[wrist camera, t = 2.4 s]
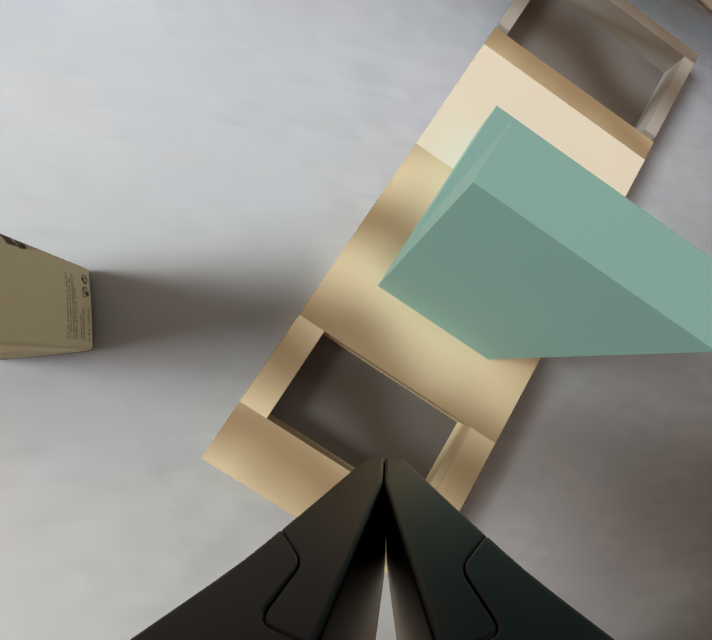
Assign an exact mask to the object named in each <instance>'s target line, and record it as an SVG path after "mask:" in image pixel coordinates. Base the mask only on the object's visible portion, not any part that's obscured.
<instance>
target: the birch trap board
mask: <svg viewBox="0 0 712 640" xmlns="http://www.w3.org/2000/svg"><path fill="white" fill-rule="evenodd" d="M485 45H486V46H488V47H489V48H490V49H492V50H493V51H495V52H496V53H497V54H499V55H500V56H502V57H503V58H504V59H506V60H507V61H509V62H510V63H511V64H513V65H514V66H515V67H517V68H518V69H520V70H521V71H522V72H524V73H525V74H527V75H528V76H529V77H531V78H532V79H534V80H535V81H536V82H538V83H539V84H540V85H542V86H543V87H545V88H546V89H547V90H549V91H550V92H552V93H553V94H554V95H556V96H557V97H559V98H560V99H561V100H563V101H564V102H565V103H567V104H568V105H570V106H571V107H572V108H574V109H575V110H577V111H578V112H579V113H581V114H582V115H583V116H585V117H586V118H588V119H589V120H590V121H592V122H593V123H595V124H596V125H597V126H599V127H600V128H602V129H603V130H604V131H606V132H607V133H608V134H610V135H611V136H613V137H614V138H615V139H617V140H618V141H620V142H621V143H622V144H624V145H625V146H627V147H628V148H629V149H631V150H632V151H633V152H635V153H636V154H638V155H639V156H640V157H642V158H643V159H645V158H646V156H647V154H648V152H649V150H650V148H651V146H652V145H653V143H654V142H653V141H652V139H653V138H655V137H656V135H657V133H658V131H659V129H660V128H661V126H662V124H663V122H664V120H665V118H666V116H667V114H668V113H669V111H670V109H671V107H672V105H673V103H674V101H675V99H676V97H677V96H678V94H679V92H680V90H681V88H682V86H683V84H684V82H685V80H686V79H687V77H688V75H689V73H690V71H691V69H692V67H693V65H694V64H695V62H696V60H697V58H698V56H699V55H698V54H697V53H696V52H694V51H693V50H692V49H690V48H689V47H688V46H686V45H685V44H684V43H682V42H681V41H680V40H678V39H677V38H675V37H674V36H673V35H671V34H670V33H669V32H667V31H666V30H665V29H663V28H662V27H661V26H659V25H658V24H657V23H655V22H654V21H653V20H651V19H650V18H649V17H647V16H646V15H645V14H643V13H642V12H641V11H639V10H638V9H637V8H635V7H634V6H633V5H631V4H630V3H628V2H627V1H626V0H514V1H513V3H512V4H511V6H510V7H509V9H508V10H507V12H506V13H505V14H504V16H503V17H502V19H501V20H500V22H499V23H498V25H497V27H495V29H494V30H493V32H492V33H491V35H490V36H489V38H488V39H487V41H486V42H485ZM452 170H453V169H452V168H451V167H449V166H448V165H446V164H445V163H444V162H442V161H441V160H439V159H438V158H436V157H435V156H433V155H432V154H431V153H429V152H428V151H426V150H425V149H423V148H422V147H421V146H419V145H418V144H415V146H414V147H413V149H412V150H411V152H410V153H409V154H408V156H407V157H406V159H405V160H404V162H403V163H402V165H401V166H400V168H399V169H398V171H397V172H396V174H395V175H394V176H393V178H392V179H391V181H390V182H389V184H388V185H387V187H386V188H385V190H384V191H383V193H382V194H381V195H380V197H379V198H378V200H377V201H376V203H375V204H374V206H373V207H372V209H371V210H370V212H369V213H368V214H367V216H366V217H365V219H364V220H363V222H362V223H361V225H360V226H359V228H358V229H357V231H356V232H355V234H354V235H353V236H352V238H351V239H350V241H349V242H348V244H347V245H346V247H345V248H344V250H343V251H342V253H341V254H340V255H339V257H338V258H337V260H336V261H335V263H334V264H333V266H332V267H331V269H330V270H329V272H328V273H327V274H326V276H325V277H324V279H323V280H322V282H321V283H320V285H319V286H318V288H317V289H316V291H315V292H314V294H313V295H312V296H311V298H310V299H309V301H308V302H307V304H306V305H305V307H304V308H303V310H302V311H301V313H300V314H299V315H298V317H297V318H296V320H295V321H294V323H293V324H292V326H291V327H290V329H289V330H288V332H287V333H286V334H285V336H284V337H283V339H282V340H281V342H280V343H279V345H278V346H277V348H276V349H275V351H274V352H273V354H272V355H271V356H270V358H269V359H268V361H267V362H266V364H265V365H264V367H263V368H262V370H261V371H260V373H259V374H258V375H257V377H256V378H255V380H254V381H253V383H252V384H251V386H250V387H249V389H248V390H247V392H246V393H245V394H244V396H243V397H242V399H241V400H240V402H239V403H238V405H237V406H236V408H235V409H234V411H233V412H232V414H231V415H230V416H229V418H228V419H227V421H226V422H225V424H224V425H223V427H222V428H221V430H220V431H219V433H218V434H217V435H216V437H215V438H214V440H213V441H212V443H211V444H210V446H209V447H208V449H207V450H206V452H205V453H204V454H203V456H202V457H201V458H202V459H204V460H205V461H207V462H209V463H210V464H212V465H213V466H215V467H217V468H218V469H220V470H221V471H223V472H225V473H226V474H228V475H229V476H231V477H233V478H234V479H236V480H238V481H239V482H241V483H242V484H244V485H246V486H247V487H249V488H250V489H252V490H254V491H255V492H257V493H258V494H260V495H262V496H263V497H265V498H266V499H268V500H270V501H271V502H273V503H274V504H276V505H278V506H279V507H281V508H282V509H284V510H286V511H287V512H289V513H290V514H292V515H294V516H295V517H298V516H299V515H300V514H302V513H303V512H304V511H305V510H306V509H308V508H309V507H310V506H311V505H312V504H314V503H315V502H316V501H317V500H318V499H319V498H321V497H322V496H323V495H324V494H325V493H327V492H328V491H329V490H330V489H331V488H332V487H334V486H335V485H336V484H337V483H338V482H340V481H341V480H342V479H343V478H344V477H345V476H347V475H348V474H349V473H350V472H351V471H353V470H354V469H355V468H356V467H357V466H358V465H360V464H361V463H362V462H363V461H364V460H366V459H368V458H382V459H384V461H385V460H386V459H388V458H393V459H403V460H405V461H406V462H407V463H408V464H409V465H410V466H411V467H412V468H413V469H414V470H415V471H416V472H417V473H419V474H420V475H421V476H422V477H423V478H424V479H425V480H426V481H427V482H428V483H429V484H430V485H431V486H433V487H434V488H435V489H436V490H437V491H438V492H439V493H440V494H441V495H442V496H443V497H444V498H445V499H446V500H448V501H449V502H450V503H451V504H452V505H453V506H454V507H455V508H456V509H457V510H458V511H460V509H461V507H462V505H463V504H464V502H465V500H466V498H467V496H468V494H469V492H470V490H471V488H472V487H473V485H474V483H475V481H476V479H477V477H478V475H479V473H480V471H481V470H482V468H483V466H484V464H485V462H486V460H487V458H488V456H489V454H490V453H491V451H492V449H493V447H494V445H495V443H496V441H497V439H498V437H499V436H500V434H501V432H502V430H503V428H504V426H505V424H506V422H507V420H508V419H509V417H510V415H511V413H512V411H513V409H514V407H515V405H516V403H517V402H518V400H519V398H520V396H521V394H522V392H523V390H524V388H525V386H526V385H527V383H528V381H529V379H530V377H531V375H532V373H533V371H534V369H535V368H536V366H537V364H538V362H539V360H540V358H515V359H486V358H485V357H483V356H482V355H480V354H479V353H477V352H476V351H474V350H473V349H471V348H470V347H468V346H467V345H466V344H464V343H463V342H461V341H460V340H458V339H457V338H455V337H454V336H452V335H451V334H449V333H448V332H446V331H445V330H443V329H442V328H440V327H439V326H437V325H436V324H434V323H433V322H431V321H430V320H428V319H427V318H425V317H424V316H422V315H421V314H419V313H418V312H416V311H415V310H413V309H412V308H410V307H409V306H407V305H406V304H404V303H403V302H401V301H400V300H398V299H397V298H395V297H394V296H392V295H391V294H389V293H388V292H386V291H385V290H383V289H382V288H380V287H379V286H378V284H379V283H380V281H381V280H382V278H383V277H384V275H385V274H386V272H387V270H388V269H389V267H390V266H391V264H392V263H393V261H394V260H395V258H396V257H397V255H398V253H399V252H400V250H401V249H402V247H403V246H404V244H405V243H406V241H407V240H408V238H409V237H410V235H411V233H412V232H413V230H414V229H415V227H416V226H417V224H418V223H419V221H420V220H421V218H422V216H423V215H424V213H425V212H426V210H427V209H428V207H429V206H430V204H431V203H432V201H433V199H434V198H435V196H436V195H437V193H438V192H439V190H440V189H441V187H442V186H443V184H444V183H445V181H446V179H447V178H448V176H449V175H450V173H451V172H452ZM384 572H385V573H387V574H388V571H387V560H385V571H384Z"/></svg>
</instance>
